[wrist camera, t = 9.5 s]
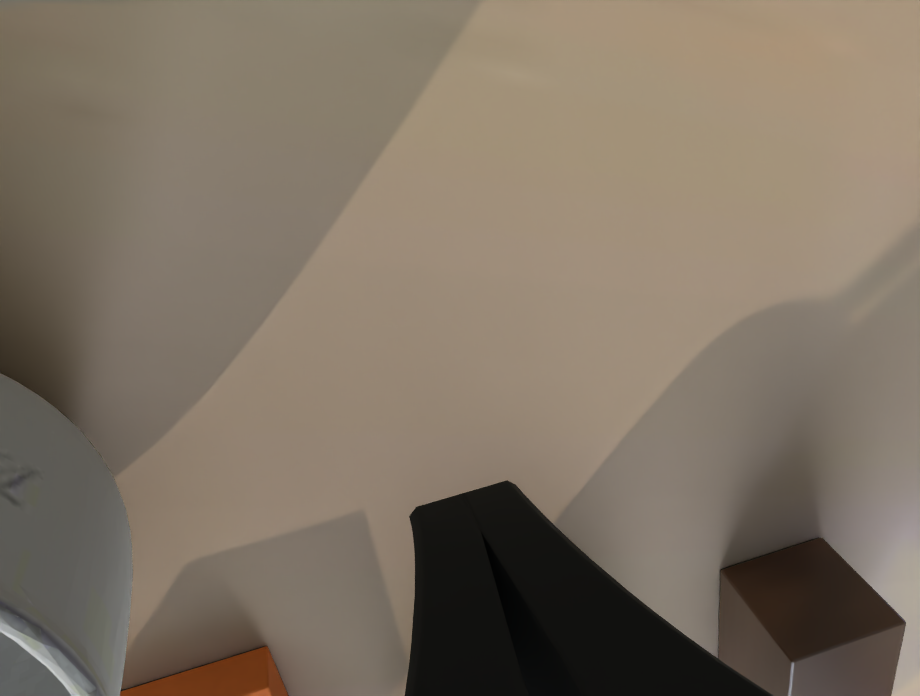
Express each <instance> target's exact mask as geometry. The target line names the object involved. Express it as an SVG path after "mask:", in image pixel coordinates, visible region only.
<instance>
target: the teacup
mask: <svg viewBox="0 0 920 696" xmlns="http://www.w3.org/2000/svg"><path fill="white" fill-rule="evenodd" d="M132 575H133V566H132V543H131V534H130V526H129V522H128V517H127V513H126V508H125V505H124V503H123V500H122V497H121V495H120V492H119V489H118V487H117V485H116V483H115V480H114V478H113V476H112V474H111V472H110V470H109V469H108V467H107V465H106V464H105V462H104V460H103V459H102V457H101V456H100V454H99V453H98V452H97V451H96V449H95V448H94V447H93V445H92V444H91V443H90V442H89V440H88V439H87V438H86V437H85V435H84V434H83V433H82V432H81V431H80V430H79V429H78V428H77V427H76V426H75V425H74V424H73V423H72V422H71V421H70V420H69V419H68V418H67V417H65V416H64V415H63V414H62V413H61V412H60V411H58V410H57V409H56V408H55V407H54V406H52V405H51V404H50V403H48V402H47V401H46V400H44V399H43V398H42V397H40V396H39V395H38V394H36V393H34V392H33V391H31V390H29V389H28V388H26V387H25V386H23V385H21V384H20V383H18V382H16V381H15V380H13V379H11V378H9V377H7V376H5V375H3V374H1V373H0V696H120V691H121V685H122V678H123V671H124V664H125V656H126V646H127V637H128V627H129V618H130V605H131V592H132Z"/></svg>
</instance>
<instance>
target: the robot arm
mask: <svg viewBox="0 0 920 696" xmlns="http://www.w3.org/2000/svg"><path fill="white" fill-rule="evenodd" d="M409 517H410V521H411V526H412V531H413V539H414V549H415V601H414V615H413V629H412V643H411V654H410V662H409V670H408V677H407V684H406V691H405V696H773V695H772V694H770V693H769V692H767V691H766V690H764V689H763V688H761V687H760V686H758V685H757V684H755V683H754V682H752V681H751V680H749V679H747V678H746V677H744V676H743V675H741V674H740V673H738V672H737V671H735V670H734V669H732V668H731V667H729V666H728V665H726V664H725V663H723V662H722V661H721V660H719V659H718V658H716V657H715V656H713V655H712V654H711V653H709V652H708V651H706V650H705V649H704V648H702V647H701V646H699V645H698V644H697V643H695V642H694V641H692V640H691V639H690V638H688V637H687V636H686V635H684V634H683V633H682V632H680V631H679V630H678V629H676V628H675V627H674V626H672V625H671V624H670V623H668V622H667V621H666V620H664V619H663V618H662V617H661V616H659V615H658V614H657V613H655V612H654V611H653V610H651V609H650V608H649V607H648V606H646V605H645V604H644V603H643V602H641V601H640V600H639V599H638V598H636V597H635V596H634V595H633V594H631V593H630V592H629V591H628V590H627V589H625V588H624V587H623V586H622V585H621V584H619V583H618V582H617V581H616V580H615V579H614V578H612V577H611V576H610V575H609V574H608V573H607V572H605V571H604V570H603V569H602V568H601V567H600V566H598V565H597V564H596V563H595V562H594V561H592V560H591V559H590V558H589V557H588V556H587V555H586V554H585V553H584V552H582V551H581V550H580V549H579V548H578V547H577V546H576V545H575V544H574V543H573V542H571V541H570V540H569V539H568V538H567V537H566V536H565V535H564V534H563V533H562V532H561V531H560V530H559V529H558V528H557V527H556V526H555V525H554V524H553V523H552V522H550V521H549V520H548V519H547V518H546V517H545V516H544V515H543V514H542V513H541V512H540V510H539V509H538V508H537V507H536V506H535V505H534V504H533V503H532V502H531V501H530V500H529V499H528V498H527V497H526V496H525V495H524V494H523V492H522V491H521V490H520V489H519V488H518V487H517V486H516V485H515V484H513V483H511V482H509V481H504V482H500V483H497V484H493V485H490V486H487V487H483V488H480V489H476V490H473V491H469V492H466V493H463V494H459V495H456V496H452V497H449V498H446V499H442V500H439V501H435V502H432V503H428V504H425V505H422V506H418V507H416V508H415V510H414V511H413V512H412V514H411V515H410V516H409Z"/></svg>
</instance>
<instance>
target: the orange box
mask: <svg viewBox="0 0 920 696" xmlns="http://www.w3.org/2000/svg"><path fill="white" fill-rule="evenodd" d="M120 696H288V694H287V691H286V689H285V687H284V684H283V682H282V680H281V677H280V675H279V672H278V670H277V668H276V665H275V663H274V661H273V658H272V656H271V654H270V651H269V649H268V647H267V646H265V647H262V648H259V649H256V650H252V651H249V652H246V653H243V654H240V655H236V656H233V657H230V658H227V659H224V660H220V661H217V662H214V663H211V664H207V665H204V666H201V667H198V668H195V669H191V670H188V671H185V672H182V673H179V674H175V675H172V676H169V677H166V678H162V679H159V680H156V681H153V682H150V683H146V684H143V685H140V686H137V687H133V688H130V689H127V690H124V691H121V692H120Z"/></svg>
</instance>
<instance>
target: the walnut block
mask: <svg viewBox="0 0 920 696" xmlns="http://www.w3.org/2000/svg"><path fill="white" fill-rule="evenodd" d="M905 626H906V622H905V620H904V619H903V618H902V617H901V616H900V615H899V614H898V613H897V612H896V611H895V610H894V609H893V608H892V607H891V606H890V605H889V604H888V603H887V602H886V601H885V600H884V599H883V598H882V597H881V596H880V595H879V594H878V593H877V592H876V591H875V590H874V589H873V588H872V587H871V586H870V585H869V584H868V583H867V582H866V581H865V580H864V579H863V578H862V577H861V576H860V575H859V574H858V573H857V572H856V571H855V570H854V569H853V568H852V567H851V566H850V565H849V564H848V563H847V562H846V561H845V560H844V559H843V558H842V557H841V556H840V555H839V554H838V553H837V552H836V551H835V550H834V549H833V548H832V547H831V546H830V545H829V544H828V543H827V542H826V541H825V540H824V539H823V538H817V539H814V540H811V541H808V542H805V543H802V544H799V545H796V546H793V547H789V548H786V549H783V550H780V551H777V552H774V553H771V554H768V555H765V556H762V557H759V558H756V559H753V560H749V561H746V562H743V563H740V564H737V565H734V566H731V567H728V568H725V569H722V570H721V578H720V618H719V658H718V659H719V660H721V661H722V662H723V663H725V664H726V665H728V666H729V667H731V668H732V669H734V670H735V671H737V672H738V673H740V674H741V675H743V676H744V677H746V678H747V679H749V680H751V681H752V682H754V683H755V684H757V685H758V686H760V687H761V688H763V689H764V690H766V691H767V692H769V693H770V694H772V695H773V696H891V694H892V689H893V684H894V679H895V674H896V670H897V665H898V660H899V655H900V650H901V645H902V641H903V636H904V631H905Z"/></svg>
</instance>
